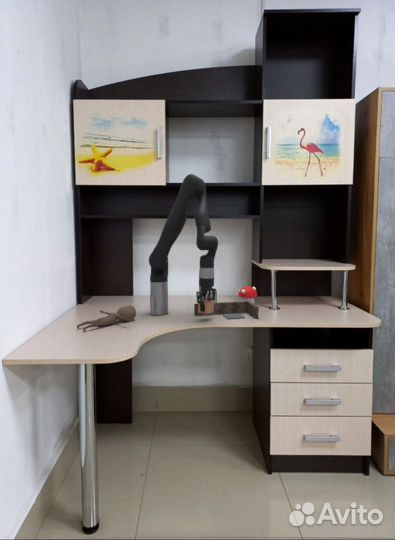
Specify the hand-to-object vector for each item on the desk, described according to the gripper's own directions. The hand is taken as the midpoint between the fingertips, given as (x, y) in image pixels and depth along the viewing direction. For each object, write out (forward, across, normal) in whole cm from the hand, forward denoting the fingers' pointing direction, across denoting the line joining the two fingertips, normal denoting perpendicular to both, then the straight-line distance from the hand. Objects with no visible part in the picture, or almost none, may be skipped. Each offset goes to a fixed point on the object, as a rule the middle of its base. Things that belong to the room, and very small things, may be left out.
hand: (205, 310), depth 208 cm
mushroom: (+4, +37, -3) cm, 37 cm away
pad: (+4, +13, -8) cm, 16 cm away
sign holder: (+5, +30, +19) cm, 36 cm away
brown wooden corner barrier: (+4, +11, -5) cm, 13 cm away
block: (+1, 0, 0) cm, 1 cm away
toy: (+6, -33, +33) cm, 47 cm away
